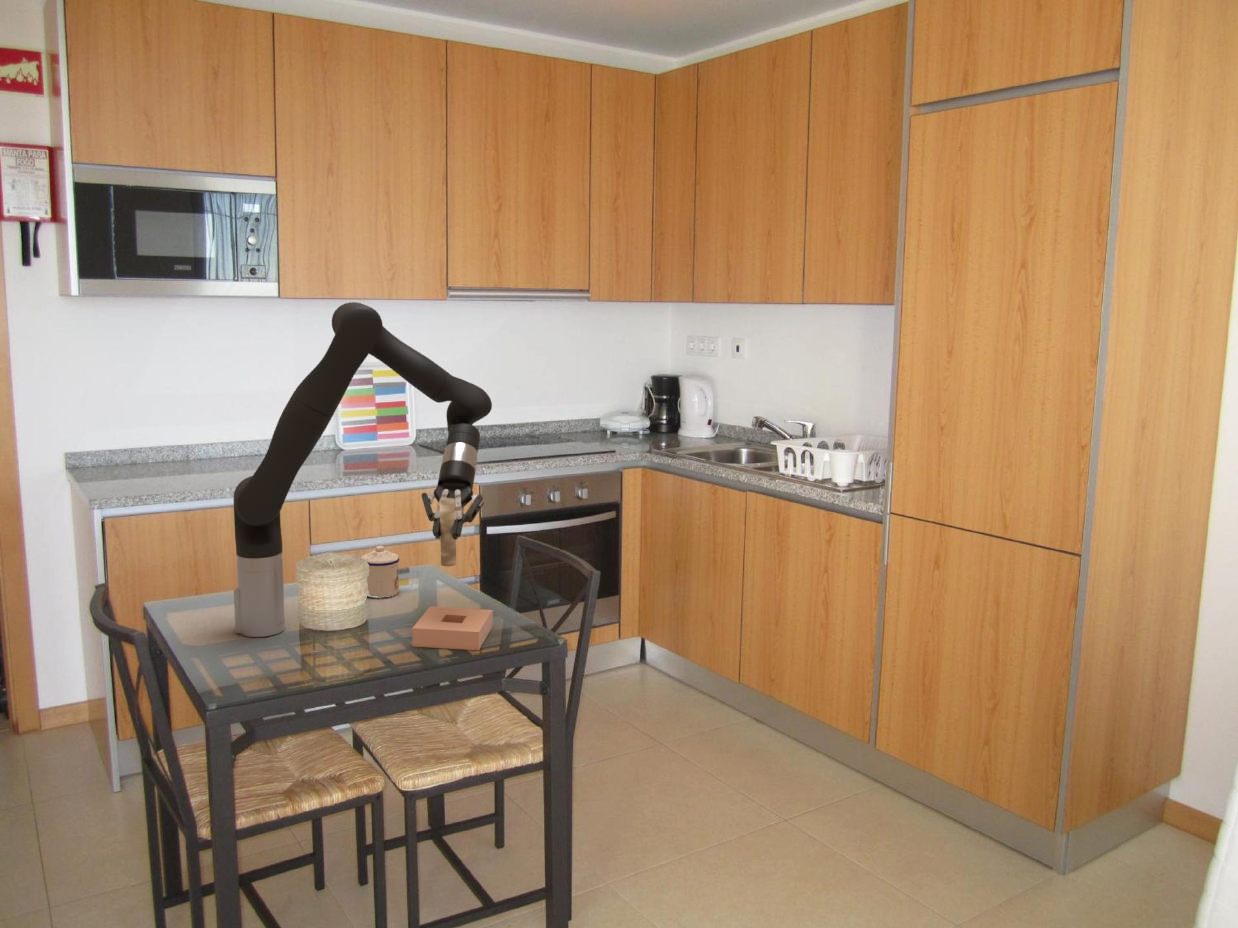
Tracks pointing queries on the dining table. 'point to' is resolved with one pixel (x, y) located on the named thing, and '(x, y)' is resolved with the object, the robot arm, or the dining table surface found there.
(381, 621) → the dining table surface
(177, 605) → the dining table surface
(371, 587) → the tan lidded jar
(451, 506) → the peg
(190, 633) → the dining table surface
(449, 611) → the socket block
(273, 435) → the robot arm
